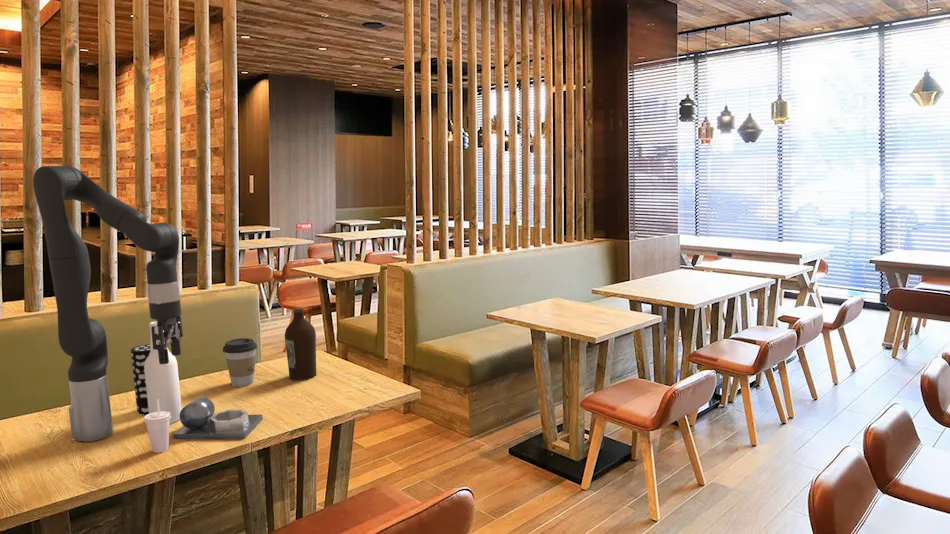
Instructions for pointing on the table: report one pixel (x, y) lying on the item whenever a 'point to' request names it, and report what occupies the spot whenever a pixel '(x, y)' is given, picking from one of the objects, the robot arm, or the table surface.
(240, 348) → the coffee cup
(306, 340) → the olive oil
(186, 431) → the flat grey tray
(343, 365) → the table surface
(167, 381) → the alcohol
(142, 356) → the white-spotted black cylinder
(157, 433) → the smoothie
